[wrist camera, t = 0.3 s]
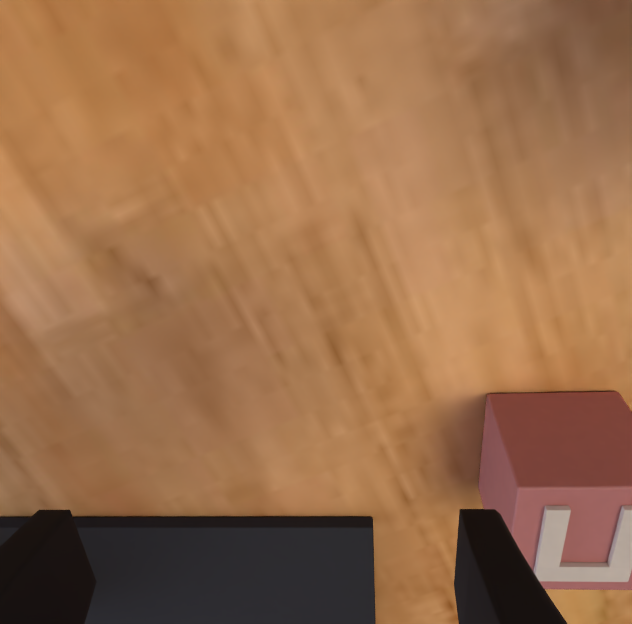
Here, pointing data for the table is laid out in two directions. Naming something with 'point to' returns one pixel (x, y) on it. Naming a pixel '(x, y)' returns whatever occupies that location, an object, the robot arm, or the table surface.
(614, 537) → the block
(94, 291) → the table surface
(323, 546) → the word mat
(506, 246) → the table surface
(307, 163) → the table surface
